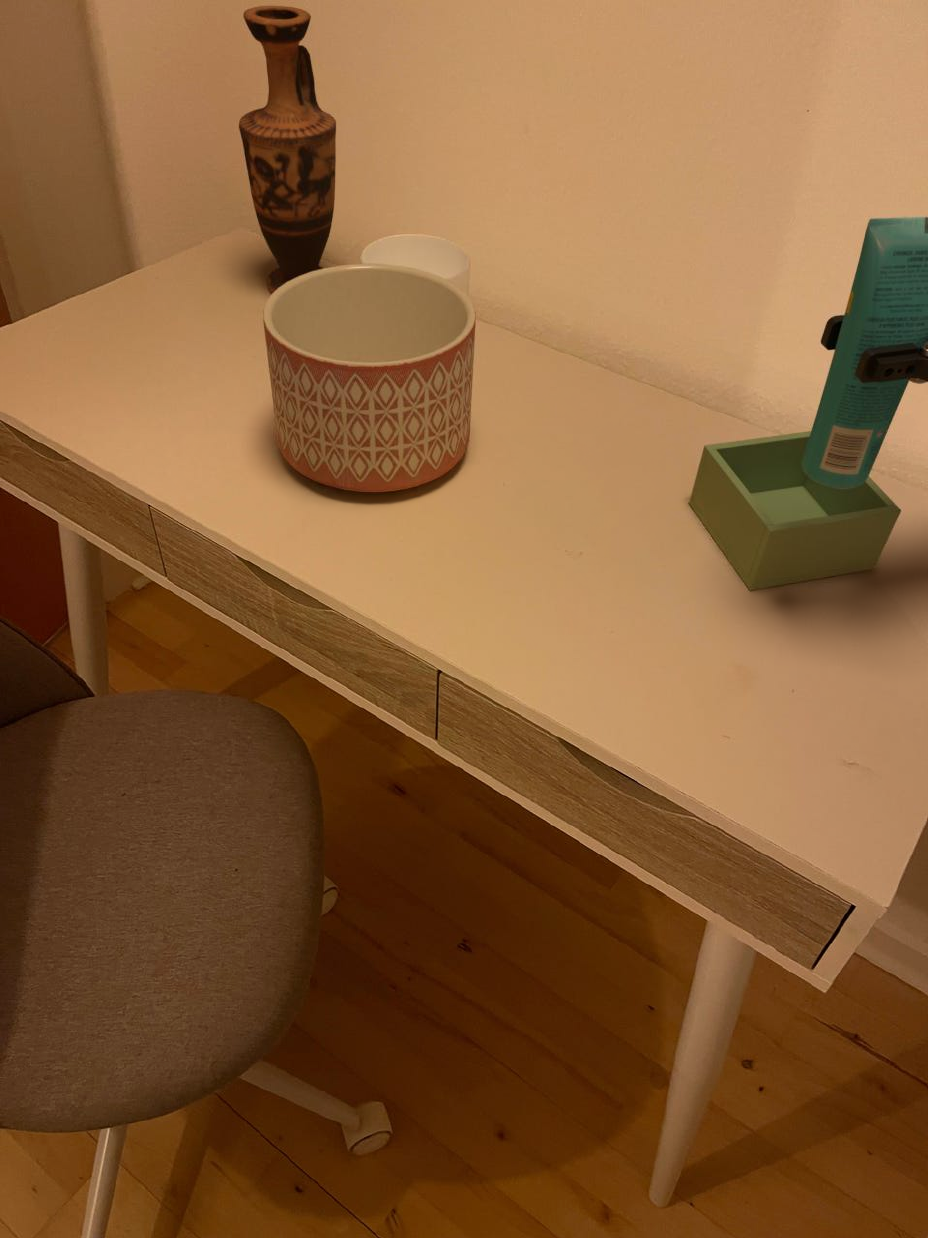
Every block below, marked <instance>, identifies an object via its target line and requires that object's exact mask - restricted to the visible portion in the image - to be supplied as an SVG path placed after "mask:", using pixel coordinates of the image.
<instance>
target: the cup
mask: <svg viewBox="0 0 928 1238" xmlns="http://www.w3.org/2000/svg"><path fill="white" fill-rule="evenodd" d="M359 264H388V265H397V266H403V267H409V268H414V269H418V270H421V271H425V272H429V273H431V274H434V275H437V276H439V277H441V278H443V279H445V280H447V281H449V282H451V283H453V284H454V285H456V286H457V287H459V288H460V289H461V290H462V291H463V292H464V293H465V294H466V295H467V296H468V297H469V298H470V296H469V295H470V276H471V256H470V255H469V253H468V252H467V251H466V249H464V247H463V246H461V245H460V244H458V243H456V242H454V241H452V240H450V239H447V238H443V237H440V236H435V235H430V234H420V233H405V234H395V235H390V236H385V237H382V238H378V239H376V240H375V241H372V242H370V243H369V244H367V245H366V246H365V247H364V248H363V249H362V251H361V253H360V255H359Z"/></svg>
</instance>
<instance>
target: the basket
mask: <svg viewBox="0 0 928 1238" xmlns="http://www.w3.org/2000/svg"><path fill="white" fill-rule="evenodd" d="M810 433H811V430H809V431H801V432H794V433H793V432H792V433H786V434H779V435H771V436H764V437H755V438H749V439H743V440H742V439H741V440H735V441H728V442H719V443H713V444H712V443H711V444H705V445H704V446H703V450H702V453H701V457H700V460H699V464H698V468H697V472H696V475H695V478H694V483H693V487H692V491H691V495H690V498H689V501H688V504H689V506H690V508H691V509H692V510H693V512H694V513H695V515H696V516H697V517H698V519H699V520H700V521H701V523H702V525H703V526H704V528H705V529H706V530H707V531H708V533H709V535H710V536H711V537H712V538H713V540H714V541H715V543H716V544H717V546H718V547H719V549H720V550H721V552H722V553H723V555H724V556H725V557H726V559H727V560H728V562H729V563H730V564H731V566H732V567H733V569H734V570H735V571H736V573H737V574H738V576H739V577H740V579H741V580H742V582H743V583H744V584H745V586H746V588H747V589H748V590H749V591H756V590H761V589H766V588H772V587H778V586H785V585H789V584H797V583H802V582H807V581H812V580H819V579H823V578H830V577H835V576H841V575H847V574H853V573H860V572H864V571H865V572H866V571H870V570H871V571H872V570H874V569H875V568H876V566H877V564H878V561H879V559H880V557H881V555H882V553H883V550H884V548H885V547H886V544H887V542H888V540H889V538H890V536H891V533H892V532H893V529H894V527H895V525H896V523H897V521H898V518H899V516H900V514H901V513H902V510H901V509H900V507H899V506H898V505H897V504H896V503H895V502H894V501H893V500H892V498H890V497H889V496H888V495H887V493H885V491H884V490H883V489H882V488H881V487H880V486H879V485H878V484H877V483H876V482H875V481H874V480H873V479H872V478H871V477H870V475H869V476H868V478H867V480H866V482H865V483H863V484H862V485H860V486H858V487H855V488H850V489H838V488H833V487H829V486H826V485H822V484H820V483H817V482H815V481H814V480H812V479H811V478H810V477H809V476H808V475H807V474H805V472H804V470H803V468H802V460H803V457H804V453H805V450H806V447H807V443H808V440H809V437H810Z"/></svg>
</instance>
